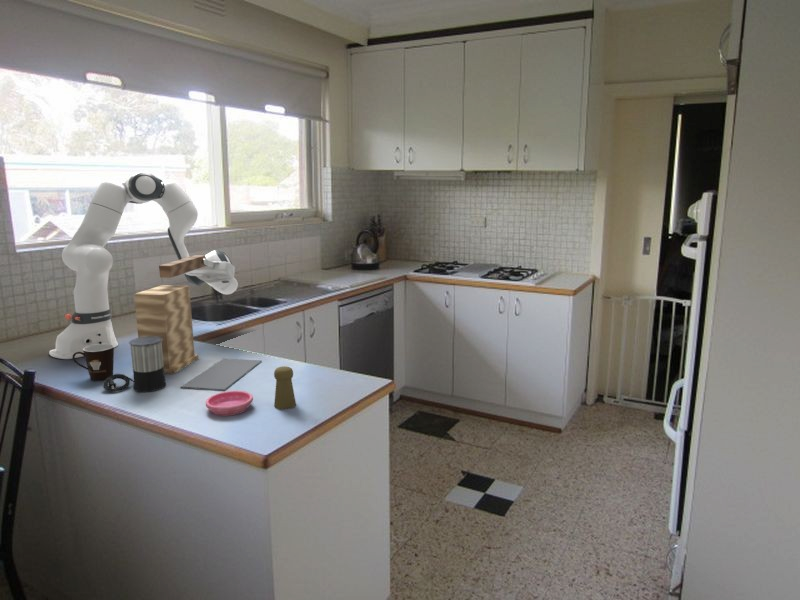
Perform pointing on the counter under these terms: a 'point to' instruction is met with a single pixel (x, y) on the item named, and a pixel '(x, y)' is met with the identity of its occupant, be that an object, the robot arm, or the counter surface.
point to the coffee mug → (98, 361)
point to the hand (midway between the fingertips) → (196, 260)
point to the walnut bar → (181, 266)
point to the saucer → (229, 402)
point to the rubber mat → (221, 374)
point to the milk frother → (143, 366)
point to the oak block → (167, 323)
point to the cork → (284, 388)
